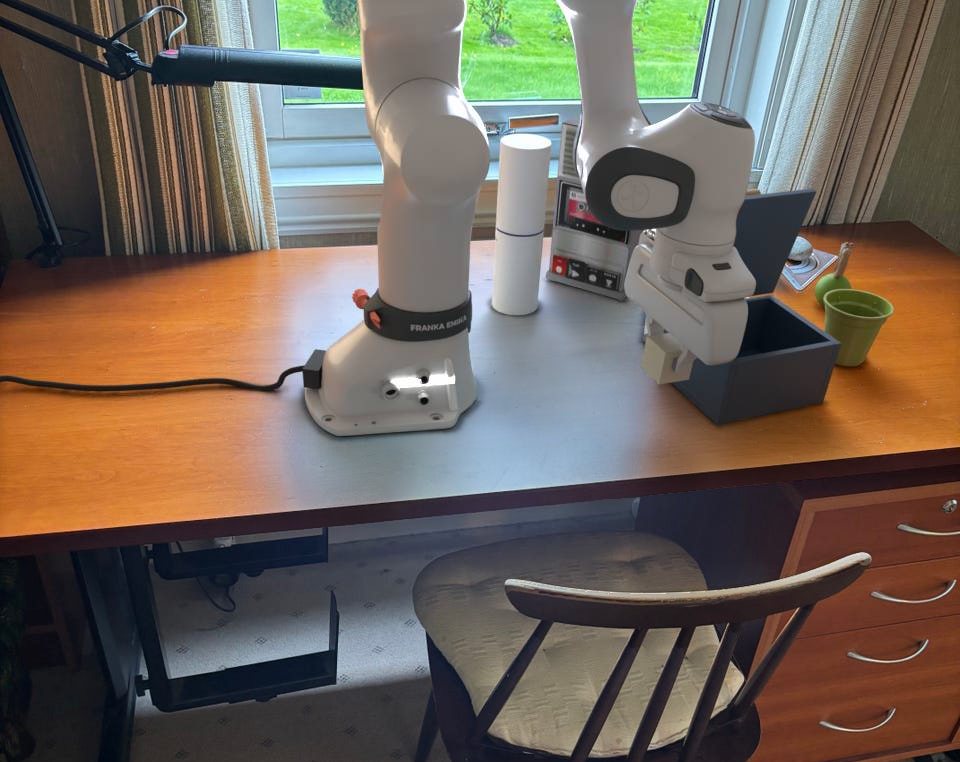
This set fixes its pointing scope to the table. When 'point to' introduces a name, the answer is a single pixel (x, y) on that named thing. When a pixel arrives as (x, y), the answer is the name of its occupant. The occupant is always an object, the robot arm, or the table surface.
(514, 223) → the cylindrical container
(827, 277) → the green maraca
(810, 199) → the lid
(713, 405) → the chest
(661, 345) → the block
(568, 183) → the cassette tape recorder
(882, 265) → the table surface
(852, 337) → the plant pot
